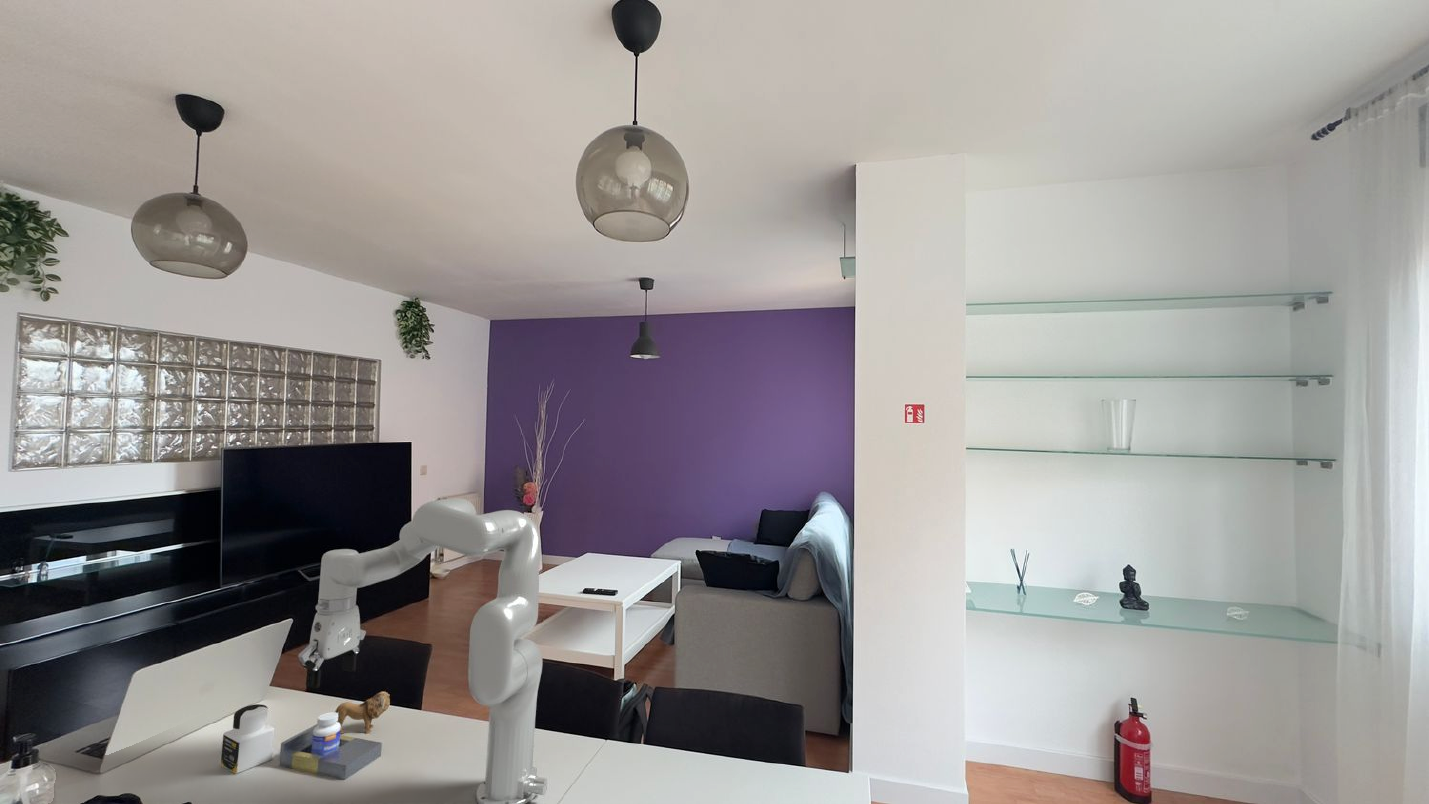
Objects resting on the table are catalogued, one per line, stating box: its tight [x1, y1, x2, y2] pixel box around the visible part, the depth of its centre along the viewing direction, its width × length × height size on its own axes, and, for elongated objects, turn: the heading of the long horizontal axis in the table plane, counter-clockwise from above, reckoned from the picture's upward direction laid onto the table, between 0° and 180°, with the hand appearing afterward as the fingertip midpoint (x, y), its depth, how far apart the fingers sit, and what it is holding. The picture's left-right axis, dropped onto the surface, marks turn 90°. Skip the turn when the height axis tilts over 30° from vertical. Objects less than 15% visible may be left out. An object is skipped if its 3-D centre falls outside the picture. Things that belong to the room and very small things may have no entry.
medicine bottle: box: [220, 704, 275, 775], centre depth 133 cm, size 7×7×12 cm
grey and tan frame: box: [278, 724, 383, 781], centre depth 134 cm, size 18×10×5 cm, turn 77°
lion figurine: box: [334, 691, 391, 735], centre depth 149 cm, size 15×5×9 cm, turn 104°
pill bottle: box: [311, 711, 341, 756], centre depth 135 cm, size 5×5×10 cm
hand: (331, 678), depth 136 cm, fingers open, 9 cm apart
